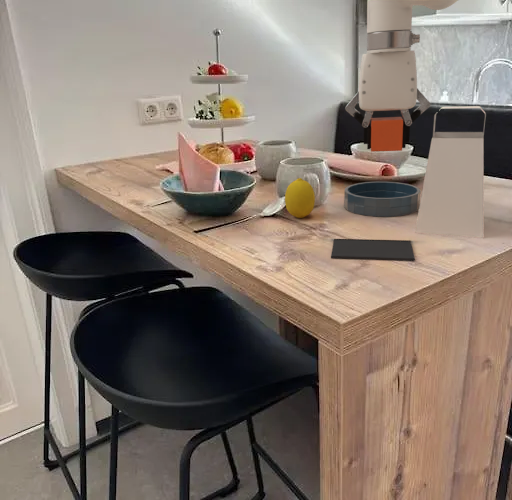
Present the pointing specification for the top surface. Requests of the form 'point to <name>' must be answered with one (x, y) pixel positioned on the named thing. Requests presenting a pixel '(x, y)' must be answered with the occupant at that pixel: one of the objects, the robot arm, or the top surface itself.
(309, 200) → the lemon
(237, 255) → the top surface
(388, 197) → the bowl
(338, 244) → the mat
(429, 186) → the grater
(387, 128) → the cube
